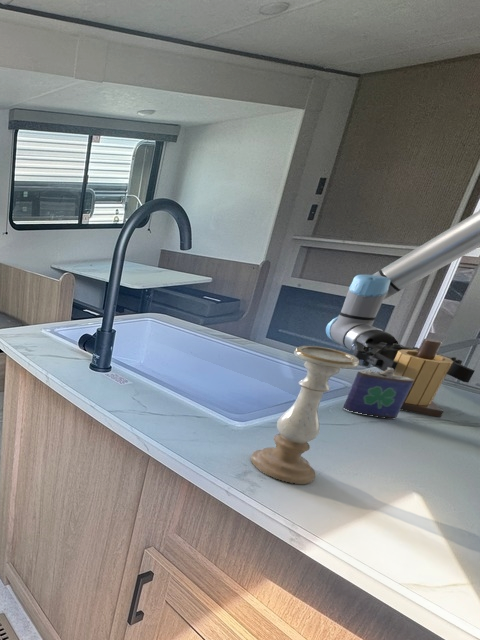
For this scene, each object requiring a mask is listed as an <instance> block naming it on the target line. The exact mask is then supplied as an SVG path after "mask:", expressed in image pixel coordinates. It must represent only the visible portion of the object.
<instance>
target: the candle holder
mask: <svg viewBox="0 0 480 640" xmlns="http://www.w3.org/2000/svg"><path fill="white" fill-rule="evenodd" d="M293 354H294V356H295V357H296V358H298V359H300V360H302V361H305V362H304V363H303V366H304V367H305V369H306V376H305V377H303V378H302V379H301V380H299V381H298V385H299V386H301V387H300V391H299V392H298V395H297V397H296V399H295V401H294V402H293V404H292V405H291V406H290V407H289V408H288V409H287V410H285V411H284V412H283V413H282V414H281V415H280V416H279V418H278V419H277V422H276V429H277V431H278V433H277V434H275V435H274V436H273V441H274V443H275V447H273V446H272V447H271V446H270V447H269V446H268V447H265V448H262V449H258V450H255V451H254V452H252V454H251V457H250V461H251V460H252V462H251V464H252V463H253V464H254V465H255V466H256V467H257V468H258V469H259V470H261V471H262V472H264V473H265V474H264V473H263V474H264V475H266V474H267V475H266V476H268V475H270V476H272V477H274V478H273V479H275V478H276V479H275V480H277V479H279V480H278V481H280V480H282V481H281V482H284V481H286V482H285V483H287V482H290V483H289V484H293V483H295V484H294V485H308V484H311V483H312V482H313V481H314V480H315V478H316V474H317V473H316V471H315V469H314V468H313V466H311V464H310V463H309V461H308V460H307V459H306V458H304V456H302V455H303V454H304V453H305V452H307V451H309V450H310V449H311V447H310V446H311V445H310V443H308V442H311V441H313V440H315V439H316V438H317V437H318V436H319V434H320V431H321V430H320V429H321V423H320V418H319V406H320V403H321V401H322V399H323V395H324V394H325V393H328V392H330V391H331V387H330V384H329V380H330V378H331V377H333V376H334V375H337V374H339V373H340V371H341V370H351V369H356V368H358V367H359V365H360V360H359V359H358V358H357V357H355V356H353V354H350V353H349V352H345V351H342V350H338V349H335V348H330V347H329V348H328V347H323V346H316V345H300V346H299V345H298V346H297V347H296V348H294V351H293ZM253 464H252V465H253ZM254 465H253V466H254ZM255 466H254V467H255ZM256 467H255V468H256ZM257 468H256V469H257ZM258 469H257V470H258ZM259 470H258V471H259ZM261 471H260V472H261ZM262 472H261V473H262ZM270 476H269V477H270ZM272 477H271V478H272Z"/></svg>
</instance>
